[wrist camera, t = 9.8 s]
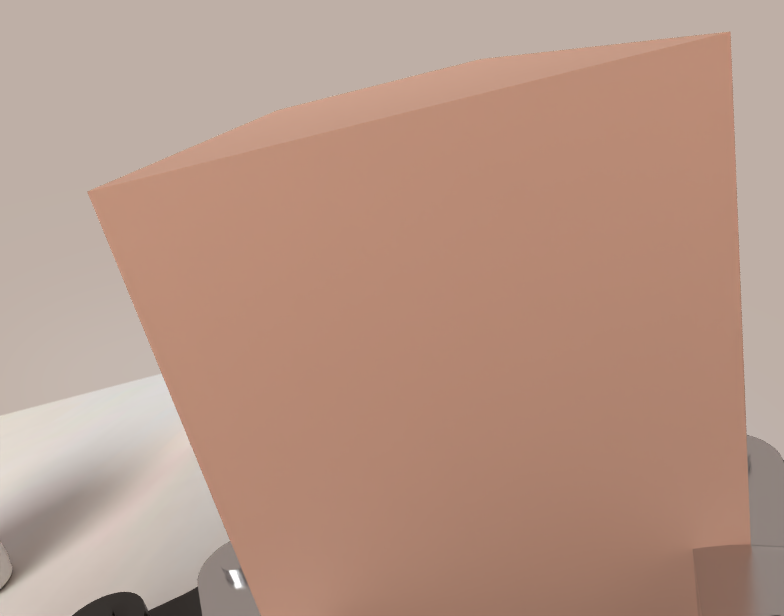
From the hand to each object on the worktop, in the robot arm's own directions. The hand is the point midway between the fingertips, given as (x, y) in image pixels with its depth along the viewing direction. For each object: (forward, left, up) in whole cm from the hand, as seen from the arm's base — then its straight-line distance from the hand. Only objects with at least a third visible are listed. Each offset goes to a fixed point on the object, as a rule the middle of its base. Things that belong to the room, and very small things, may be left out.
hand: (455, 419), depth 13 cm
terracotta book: (0, -1, -9) cm, 9 cm away
